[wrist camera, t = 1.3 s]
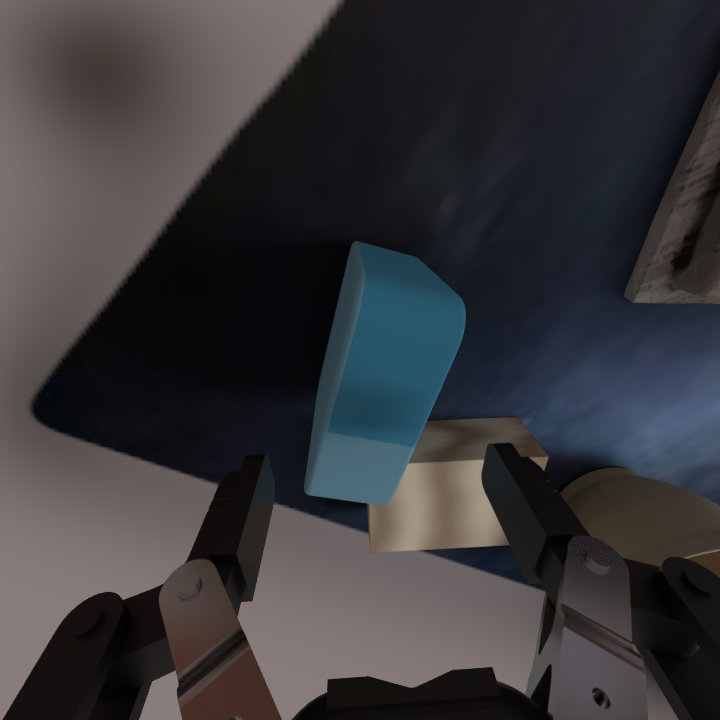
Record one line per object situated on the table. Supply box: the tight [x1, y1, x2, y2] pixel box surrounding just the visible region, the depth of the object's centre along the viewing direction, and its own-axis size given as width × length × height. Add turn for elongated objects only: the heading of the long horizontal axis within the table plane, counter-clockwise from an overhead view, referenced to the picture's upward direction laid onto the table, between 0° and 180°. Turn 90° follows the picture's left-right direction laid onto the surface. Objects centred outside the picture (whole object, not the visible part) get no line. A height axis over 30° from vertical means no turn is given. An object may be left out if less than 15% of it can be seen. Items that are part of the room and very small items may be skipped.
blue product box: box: [304, 241, 466, 506], centre depth 19 cm, size 12×4×12 cm, turn 166°
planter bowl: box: [560, 467, 720, 659], centre depth 30 cm, size 16×16×11 cm
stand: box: [367, 417, 549, 553], centre depth 30 cm, size 14×11×5 cm
